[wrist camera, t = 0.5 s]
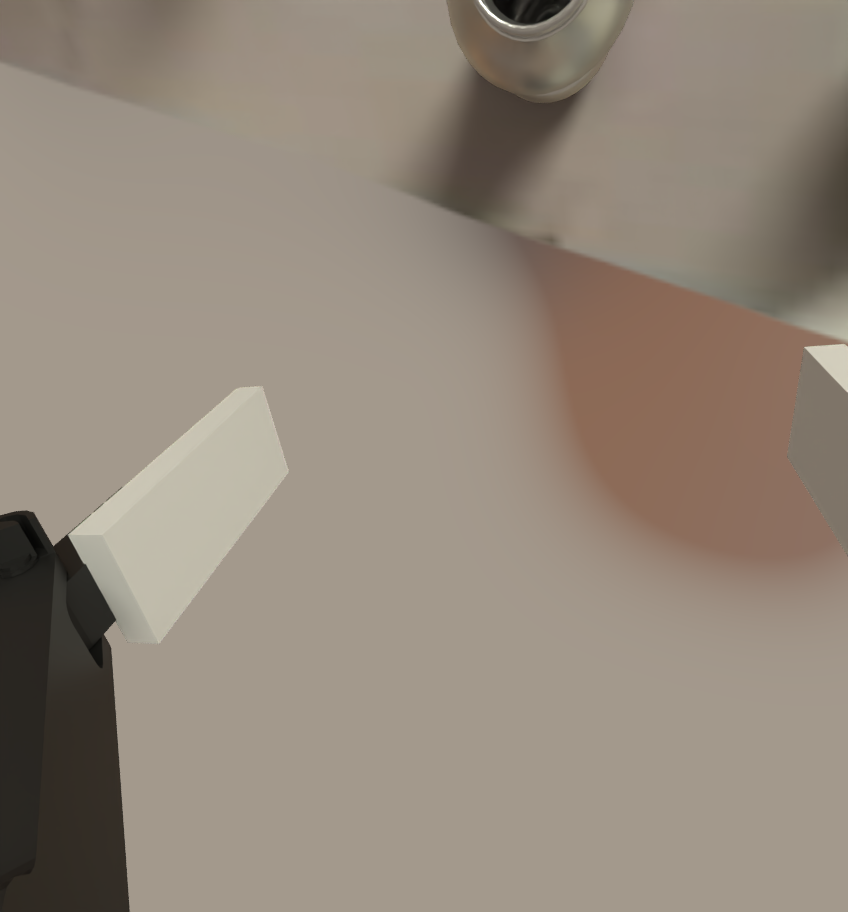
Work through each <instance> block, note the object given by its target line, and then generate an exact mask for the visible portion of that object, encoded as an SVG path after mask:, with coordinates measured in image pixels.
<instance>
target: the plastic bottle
mask: <svg viewBox="0 0 848 912" xmlns="http://www.w3.org/2000/svg"><path fill="white" fill-rule="evenodd" d="M633 2H634V0H447V5H448V11H449V16H450V22H451V26H452V28H453V31H454V34H455V37H456V40H457V43H458V45H459V46H460V48H461V50H462V52H463V53H464V55H465V57H466V59H467V60H468V62H469V63H470V64H471V65H472V66H473V68H474V69H475V70H476V71H477V72H478V73H479V74H480V75H481V76H482V77H483V78H485V79H486V80H487V81H489V82H490V83H491V84H493V85H494V86H496V87H498V88H501V89H503V90H505V91H508V92H510V93H514V94H515V95H516V96H518V97H520V98H522V99H524V100H527V101H529V102H535V103H553V102H556V101H560V100H563V99H566V98H568V97H569V96H571V95H573V94H575V93H577V92H578V91H579V90H580V89H582V88H583V87H584V86H585V85H587V84H588V83H589V82H590V80H591V79H592V78H593V77H594V76H595V75H596V73H597V72H598V71H599V69H600V67H601V66H602V64H603V63H604V61H605V59H606V57H607V55H608V52H609V50H610V49H611V47H612V46H613V44H614V42H615V41H616V39H617V37H618V36H619V34H620V33H621V31H622V29H623V27H624V25H625V23H626V20H627V18H628V15H629V13H630V11H631V8H632V6H633Z"/></svg>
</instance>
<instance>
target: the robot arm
mask: <svg viewBox="0 0 848 912" xmlns="http://www.w3.org/2000/svg"><path fill="white" fill-rule="evenodd" d="M787 457H788V459H789V461H790V462H791V464H792V465H793V467H794V469H795V470H796V472H797V474H798V475H799V477H800V479H801V480H802V482H803V484H804V485H805V487H806V489H807V490H808V492H809V493H810V495H811V496H812V498H813V500H814V502H815V503H816V505H817V507H818V508H819V510H820V512H821V513H822V515H823V516H824V518H825V520H826V521H827V523H828V525H829V526H830V528H831V530H832V531H833V533H834V534H835V536H836V538H837V539H838V541H839V543H840V544H841V546H842V548H843V549H844V551H845V552H846V554H847V556H848V347H847V346H846V345H845V344H839V345H825V346H811V347H804V351H803V357H802V364H801V370H800V377H799V383H798V390H797V397H796V403H795V409H794V416H793V422H792V429H791V435H790V441H789V448H788V454H787ZM288 472H289V470H288V467H287V464H286V461H285V457H284V454H283V451H282V448H281V445H280V441H279V438H278V435H277V432H276V429H275V425H274V422H273V419H272V416H271V413H270V410H269V406H268V403H267V400H266V397H265V394H264V390H263V387H262V386H256V387H242V388H237V389H235V390H234V391H233V392H232V393H231V394H230V395H229V396H227V398H225V399H224V400H223V401H222V402H220V403H219V404H218V405H217V406H216V407H215V408H214V409H212V410H211V411H210V412H209V413H208V414H207V415H206V416H204V417H203V418H202V419H201V420H200V421H199V422H197V423H196V424H195V425H194V426H193V427H192V428H191V429H189V430H188V431H187V432H186V433H185V434H184V435H182V436H181V437H180V438H179V439H178V440H177V441H176V442H174V443H173V444H172V445H171V446H170V447H169V448H167V449H166V450H165V451H164V452H163V453H162V454H161V455H160V456H158V457H157V458H156V459H155V460H154V461H153V462H151V463H150V464H149V465H148V466H147V467H146V468H144V469H143V470H142V471H141V472H140V473H139V474H137V476H135V477H134V478H133V479H132V480H131V481H129V482H128V483H127V484H126V485H125V486H123V487H122V488H120V489H119V490H118V491H117V492H116V493H115V494H114V495H112V496H111V497H110V498H109V499H108V500H107V501H106V502H105V503H103V504H102V505H101V506H100V507H98V508H97V509H96V510H95V511H94V513H93V514H90V515H89V516H88V517H87V518H86V519H85V520H83V521H82V522H81V523H80V524H79V525H78V526H76V527H75V528H74V529H73V530H72V531H71V532H69V533H68V534H67V535H66V536H65V537H64V538H63V539H61V540H60V541H59V542H58V543H57V544H56V545H55V546H53V545H52V544H51V542H50V540H49V538H48V537H47V535H46V533H45V532H44V530H43V528H42V526H41V524H40V523H39V521H38V519H37V518H36V516H35V514H34V513H33V512H29V511H16V512H11V513H8V514H4V515H0V912H129V897H128V882H127V868H126V853H125V839H124V825H123V811H122V797H121V782H120V768H119V754H118V740H117V725H116V711H115V697H114V682H113V668H112V654H111V647H110V645H109V643H108V641H107V639H106V637H105V636H104V633H105V632H106V631H107V630H108V629H109V627H110V626H111V625H112V624H113V623H114V622H115V621H116V623H117V625H118V626H119V628H120V630H121V632H122V634H123V635H124V637H125V639H126V641H127V642H130V643H148V644H149V643H150V644H160V642H161V641H162V639H163V638H164V637H165V636H166V634H167V633H168V631H169V630H170V629H171V628H172V626H173V625H174V624H175V622H176V621H177V620H178V618H179V617H180V616H181V614H182V613H183V612H184V610H185V609H186V608H187V606H188V605H189V604H190V602H191V601H192V600H193V598H194V597H195V596H196V594H197V593H198V592H199V590H200V589H201V588H202V587H203V585H204V584H205V583H206V581H207V580H208V579H209V577H210V576H211V575H212V573H213V572H214V571H215V569H216V568H217V567H218V565H219V564H220V563H221V561H222V560H223V559H224V557H225V556H226V555H227V553H228V552H229V551H230V549H231V548H232V547H233V545H234V544H235V543H236V541H237V540H238V539H239V537H240V536H241V535H242V533H243V532H244V531H245V530H246V528H247V527H248V526H249V524H250V523H251V522H252V520H253V519H254V518H255V516H256V515H257V514H258V512H259V511H260V510H261V508H262V507H263V506H264V504H265V503H266V502H267V500H268V499H269V498H270V496H271V495H272V494H273V492H274V491H275V490H276V488H277V487H278V486H279V484H280V483H281V482H282V480H283V479H284V478H285V476H286V475H287V474H288Z"/></svg>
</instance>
